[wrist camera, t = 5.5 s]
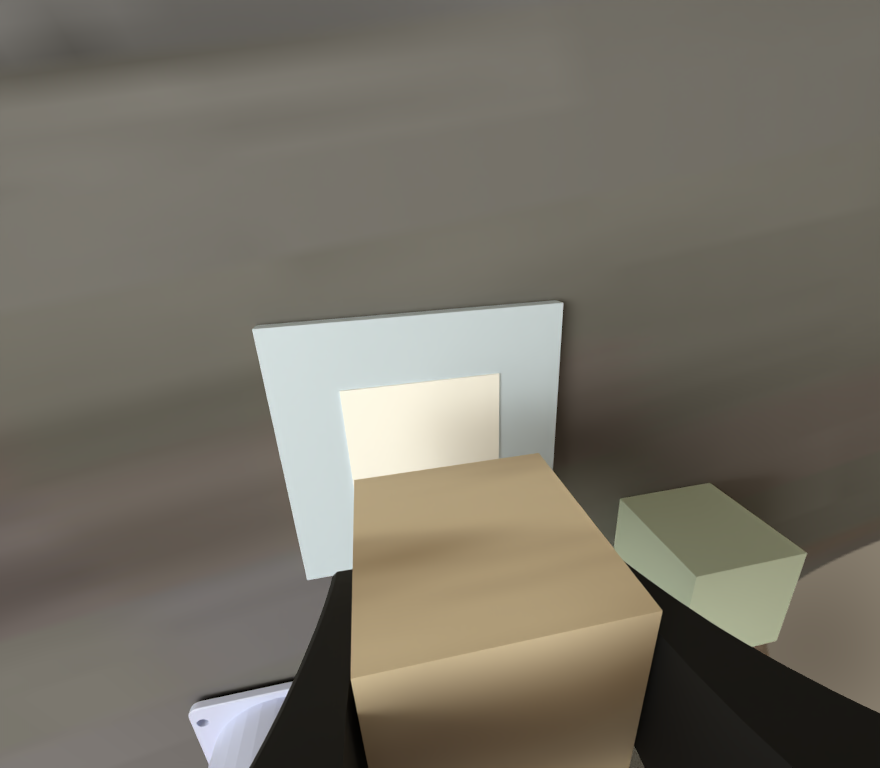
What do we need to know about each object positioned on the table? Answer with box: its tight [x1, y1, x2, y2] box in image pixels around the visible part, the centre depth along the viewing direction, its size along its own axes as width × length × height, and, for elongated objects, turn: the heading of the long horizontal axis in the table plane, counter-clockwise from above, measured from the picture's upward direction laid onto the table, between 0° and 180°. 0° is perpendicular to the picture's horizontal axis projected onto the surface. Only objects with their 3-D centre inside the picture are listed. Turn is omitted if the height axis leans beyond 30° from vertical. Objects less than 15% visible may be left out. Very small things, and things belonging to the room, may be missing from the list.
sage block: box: [614, 483, 807, 647], centre depth 19 cm, size 5×5×5 cm
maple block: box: [351, 453, 662, 768], centre depth 9 cm, size 5×5×5 cm
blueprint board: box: [252, 300, 563, 580], centre depth 17 cm, size 11×11×1 cm
